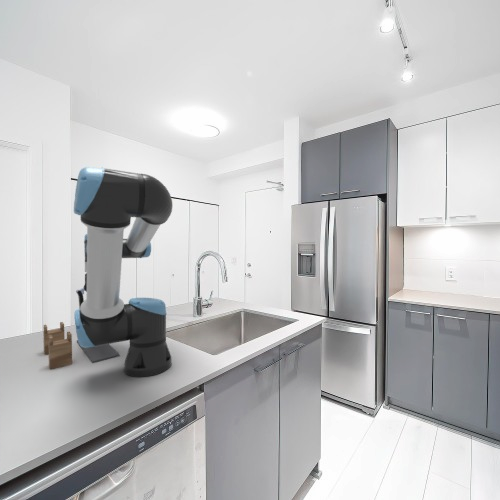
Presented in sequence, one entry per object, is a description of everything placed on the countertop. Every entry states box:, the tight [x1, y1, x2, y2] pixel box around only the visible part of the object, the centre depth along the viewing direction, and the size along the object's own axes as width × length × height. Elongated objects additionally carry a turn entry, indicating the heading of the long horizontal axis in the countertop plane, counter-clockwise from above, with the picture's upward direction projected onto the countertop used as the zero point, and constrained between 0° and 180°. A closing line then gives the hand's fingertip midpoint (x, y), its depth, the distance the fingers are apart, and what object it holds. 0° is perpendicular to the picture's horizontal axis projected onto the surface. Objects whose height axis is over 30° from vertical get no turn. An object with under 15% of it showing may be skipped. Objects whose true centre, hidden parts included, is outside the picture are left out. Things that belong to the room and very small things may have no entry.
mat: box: [76, 339, 120, 364], centre depth 108 cm, size 28×9×1 cm, turn 42°
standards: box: [43, 321, 73, 370], centre depth 99 cm, size 20×6×10 cm, turn 42°
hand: (96, 330), depth 108 cm, fingers closed on rail, 3 cm apart
